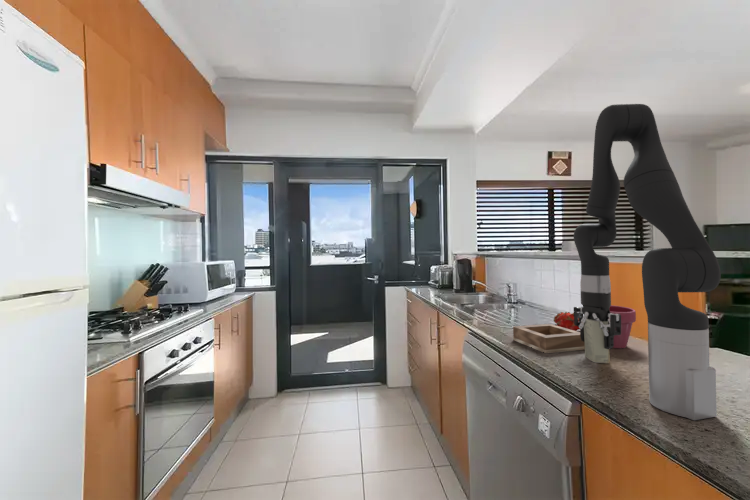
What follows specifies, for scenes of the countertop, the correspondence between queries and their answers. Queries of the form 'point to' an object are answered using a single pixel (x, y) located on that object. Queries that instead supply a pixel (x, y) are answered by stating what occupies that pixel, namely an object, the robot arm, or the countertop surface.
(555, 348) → the socket block
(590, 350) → the skincare box
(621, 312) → the plant pot
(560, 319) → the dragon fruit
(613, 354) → the countertop surface
